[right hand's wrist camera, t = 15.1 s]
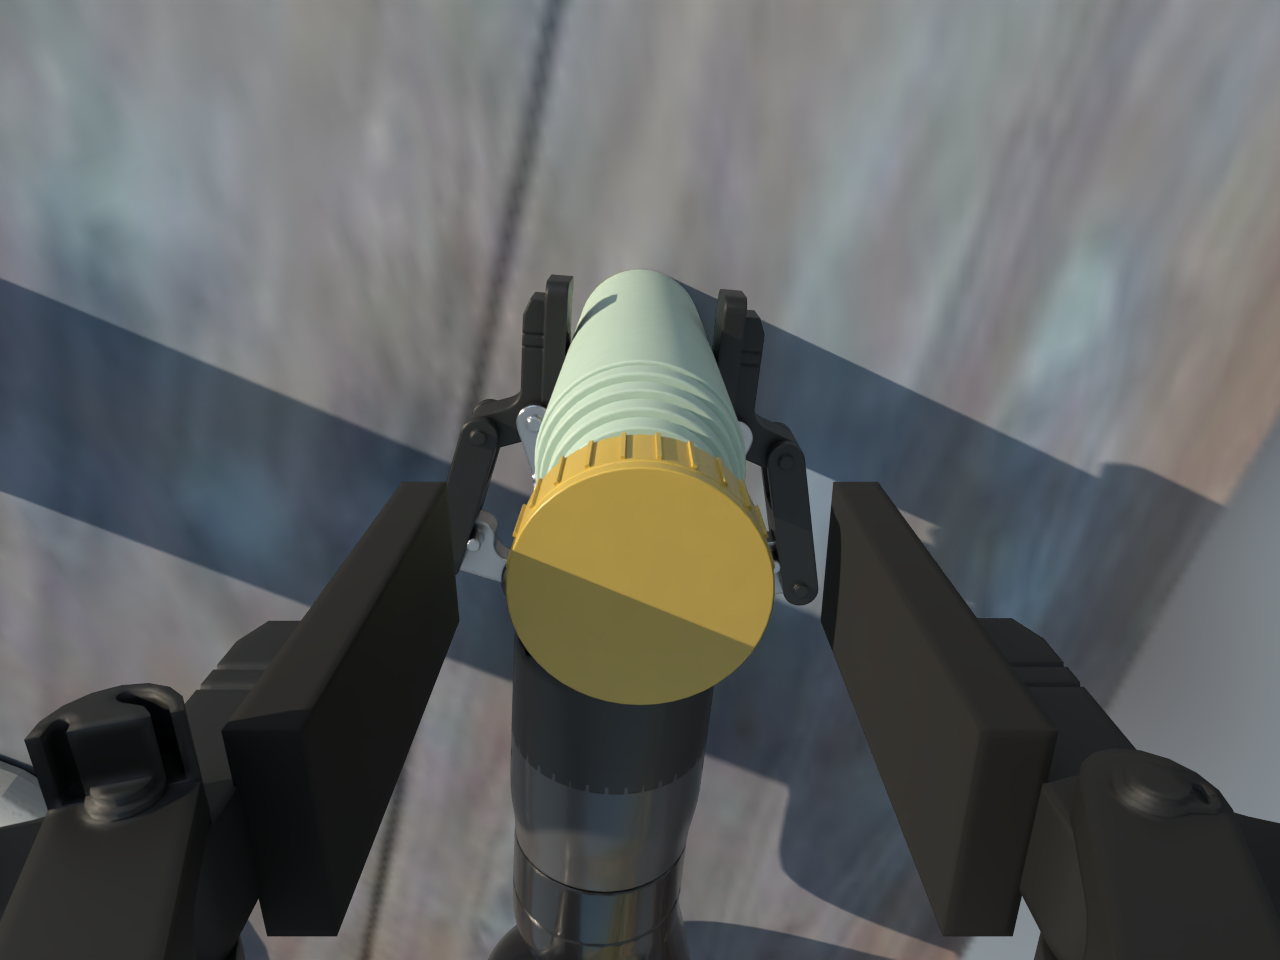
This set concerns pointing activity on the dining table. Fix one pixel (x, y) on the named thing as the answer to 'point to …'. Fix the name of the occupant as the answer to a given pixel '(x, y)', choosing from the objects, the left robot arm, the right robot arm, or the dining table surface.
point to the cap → (640, 571)
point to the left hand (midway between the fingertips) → (645, 288)
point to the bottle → (640, 375)
